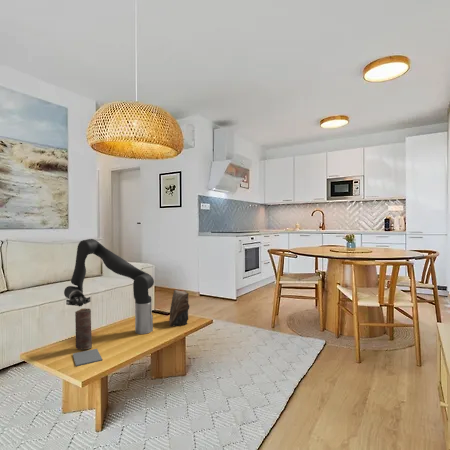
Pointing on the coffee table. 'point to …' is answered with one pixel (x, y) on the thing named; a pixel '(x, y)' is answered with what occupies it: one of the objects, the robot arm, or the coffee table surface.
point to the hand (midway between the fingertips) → (80, 304)
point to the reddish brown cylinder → (83, 329)
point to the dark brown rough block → (179, 309)
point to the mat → (86, 357)
